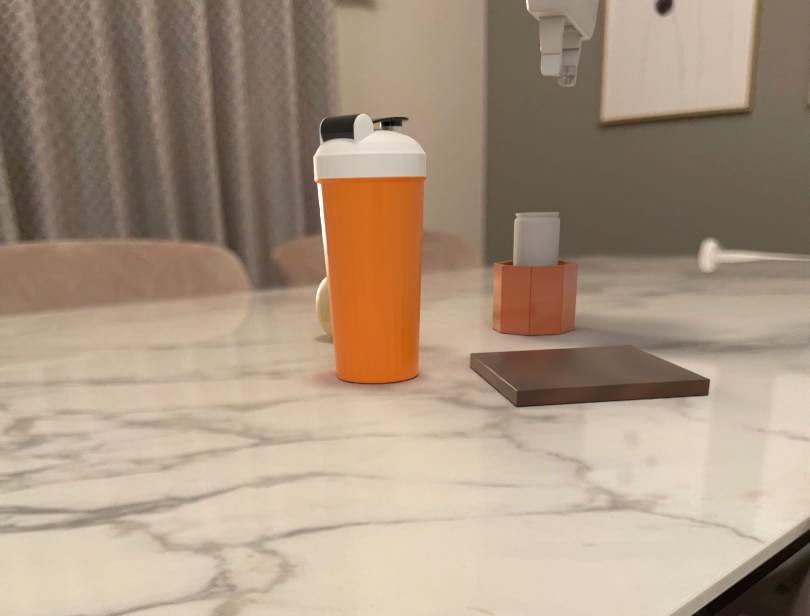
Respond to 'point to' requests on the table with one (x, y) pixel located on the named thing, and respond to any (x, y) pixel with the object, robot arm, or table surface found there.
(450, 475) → the table surface
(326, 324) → the apple
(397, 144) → the shaker bottle
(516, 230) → the beverage can
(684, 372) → the board
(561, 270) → the crock
